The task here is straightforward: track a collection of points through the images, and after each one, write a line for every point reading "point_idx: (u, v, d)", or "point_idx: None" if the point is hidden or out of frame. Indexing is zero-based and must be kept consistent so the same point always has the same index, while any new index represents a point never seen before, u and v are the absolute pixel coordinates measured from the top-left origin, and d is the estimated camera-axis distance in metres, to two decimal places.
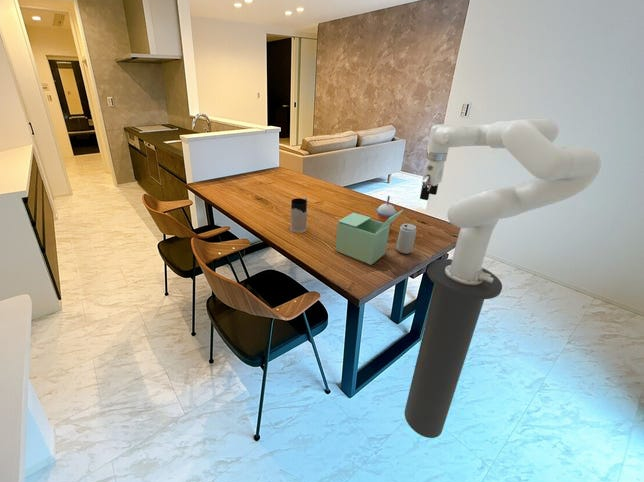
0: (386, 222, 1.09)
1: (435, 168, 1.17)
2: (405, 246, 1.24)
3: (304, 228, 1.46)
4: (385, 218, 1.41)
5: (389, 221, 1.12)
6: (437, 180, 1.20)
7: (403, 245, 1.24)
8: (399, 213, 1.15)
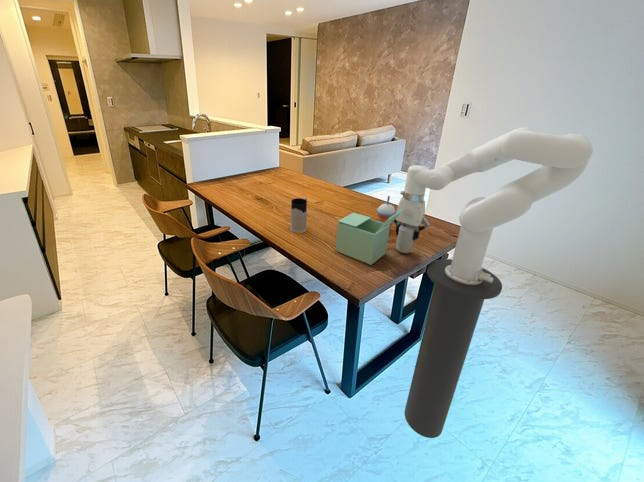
0: (386, 222, 1.09)
1: None
2: (405, 245, 1.24)
3: (304, 228, 1.46)
4: (385, 218, 1.41)
5: (389, 221, 1.12)
6: (402, 218, 1.22)
7: (402, 244, 1.24)
8: (399, 213, 1.15)
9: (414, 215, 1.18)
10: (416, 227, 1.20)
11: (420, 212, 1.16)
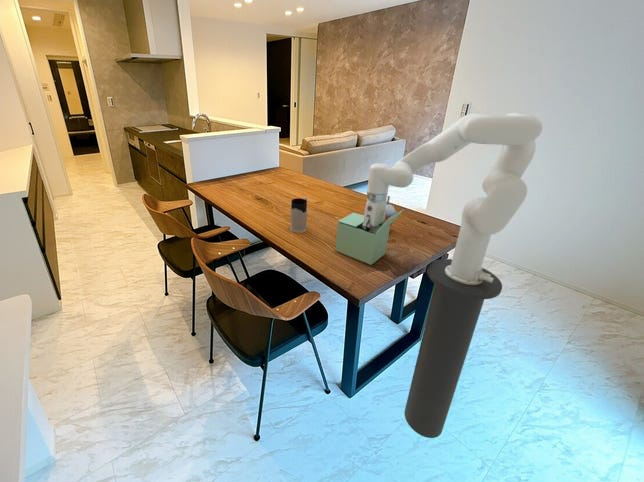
0: (386, 222, 1.09)
1: (374, 209, 1.12)
2: None
3: (304, 228, 1.46)
4: (385, 218, 1.41)
5: (389, 221, 1.12)
6: (378, 220, 1.15)
7: None
8: (399, 213, 1.15)
9: (384, 212, 1.17)
10: (380, 222, 1.21)
11: None
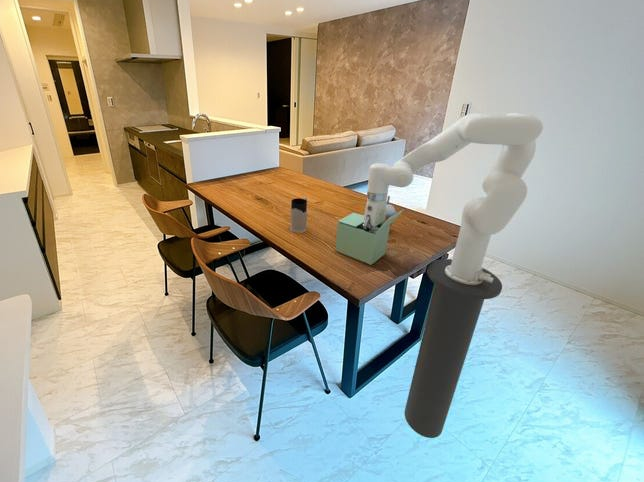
0: (386, 222, 1.09)
1: (374, 208, 1.12)
2: None
3: (304, 228, 1.46)
4: (385, 218, 1.41)
5: (389, 221, 1.12)
6: (378, 220, 1.15)
7: None
8: (399, 213, 1.15)
9: (384, 211, 1.17)
10: None
11: None
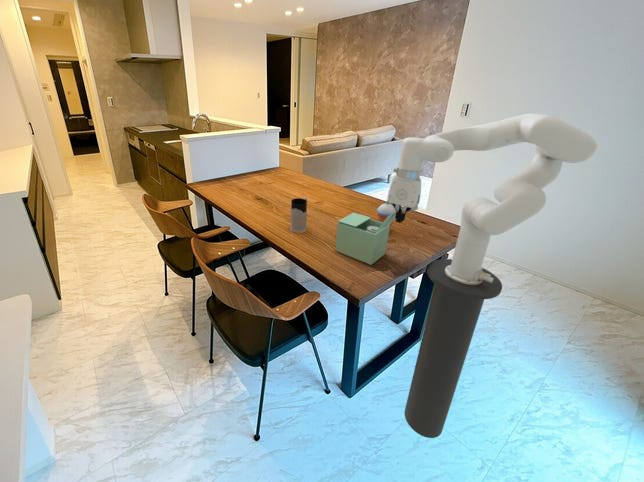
0: (385, 221, 1.09)
1: None
2: None
3: (304, 228, 1.46)
4: (385, 218, 1.41)
5: (388, 220, 1.13)
6: (395, 198, 1.07)
7: None
8: None
9: (409, 195, 1.03)
10: (404, 208, 1.07)
11: (415, 191, 1.02)
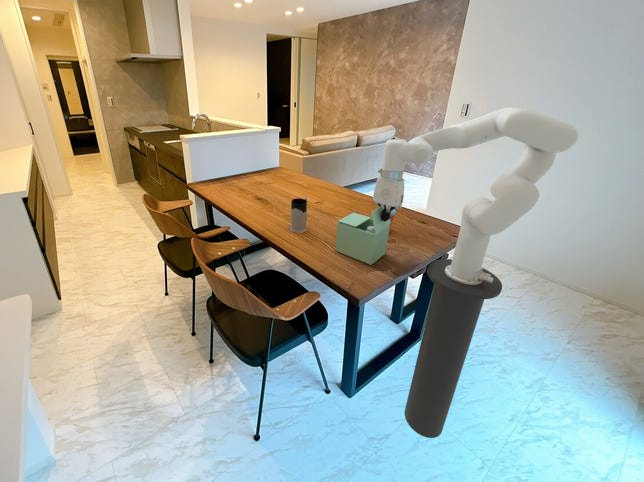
0: (373, 217, 1.12)
1: (376, 182, 1.12)
2: None
3: (304, 228, 1.46)
4: None
5: (379, 217, 1.15)
6: (380, 198, 1.11)
7: None
8: None
9: (392, 194, 1.07)
10: (388, 207, 1.11)
11: (398, 191, 1.06)
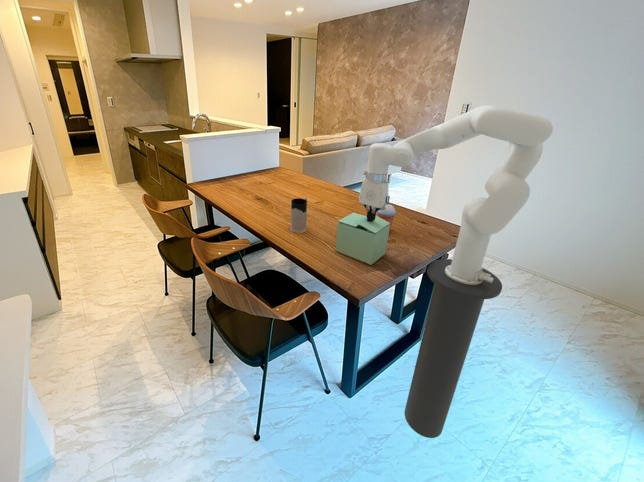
0: (361, 224, 1.16)
1: (362, 184, 1.16)
2: None
3: (304, 228, 1.46)
4: (385, 218, 1.41)
5: (370, 223, 1.18)
6: (365, 199, 1.16)
7: None
8: None
9: (377, 196, 1.12)
10: (374, 208, 1.16)
11: (382, 193, 1.10)
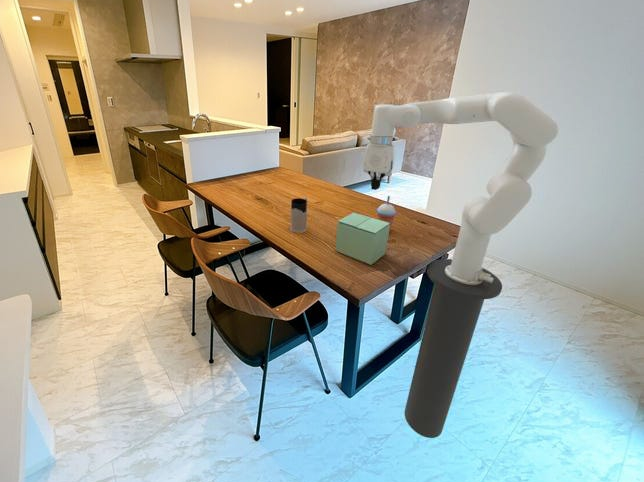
0: (361, 227, 1.17)
1: (366, 149, 1.11)
2: None
3: (304, 228, 1.46)
4: (385, 218, 1.41)
5: (369, 225, 1.19)
6: (369, 165, 1.10)
7: None
8: (371, 219, 1.24)
9: (381, 161, 1.07)
10: (378, 175, 1.11)
11: (388, 156, 1.05)
